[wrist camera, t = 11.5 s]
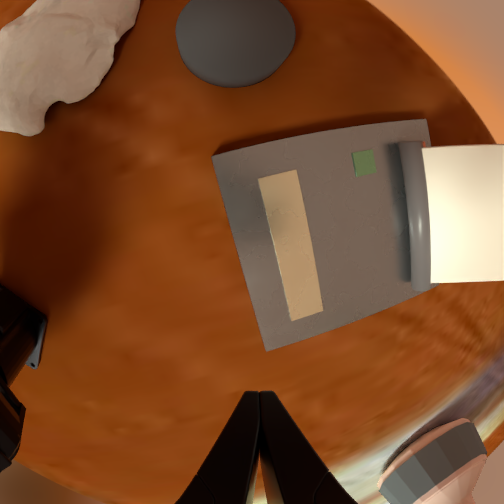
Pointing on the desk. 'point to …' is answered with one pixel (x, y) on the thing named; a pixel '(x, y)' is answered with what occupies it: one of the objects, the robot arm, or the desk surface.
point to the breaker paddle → (454, 212)
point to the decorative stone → (57, 56)
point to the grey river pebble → (234, 40)
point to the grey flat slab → (321, 226)
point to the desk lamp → (437, 467)
